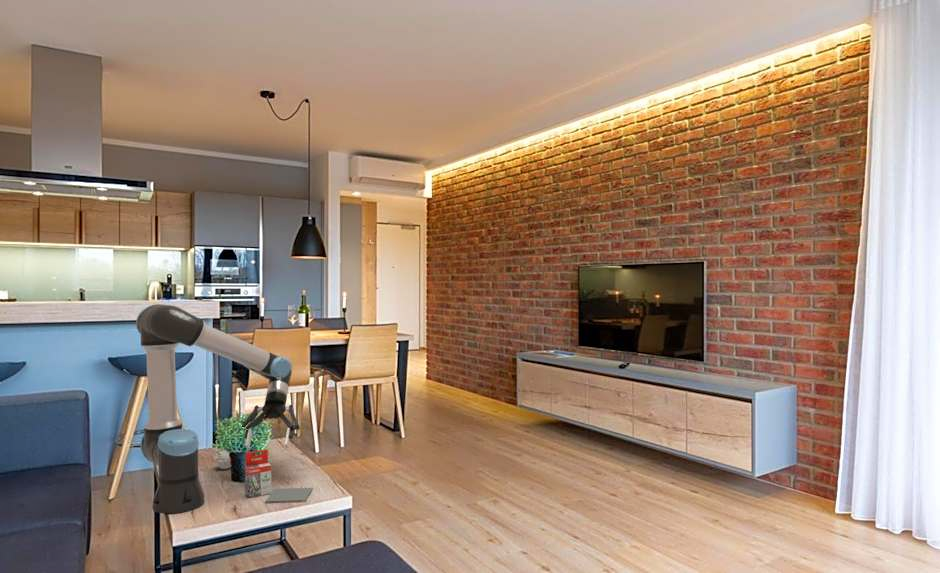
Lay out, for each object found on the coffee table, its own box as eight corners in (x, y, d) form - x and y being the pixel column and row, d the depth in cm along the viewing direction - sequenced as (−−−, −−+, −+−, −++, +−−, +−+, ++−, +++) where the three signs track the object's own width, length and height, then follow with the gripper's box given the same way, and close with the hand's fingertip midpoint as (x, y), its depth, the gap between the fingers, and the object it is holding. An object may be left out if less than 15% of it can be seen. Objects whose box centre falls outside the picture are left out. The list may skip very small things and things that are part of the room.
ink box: (271, 493, 206) (271, 451, 206) (247, 498, 201) (247, 454, 201) (268, 490, 209) (268, 448, 209) (244, 495, 204) (244, 452, 204)
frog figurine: (220, 466, 237) (219, 448, 237) (237, 466, 236) (236, 449, 236) (211, 471, 231) (211, 453, 231) (229, 471, 230) (229, 453, 230)
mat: (265, 503, 197) (265, 501, 197) (274, 490, 209) (274, 488, 209) (305, 501, 198) (305, 500, 198) (312, 489, 210) (312, 487, 210)
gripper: (311, 400, 232) (304, 450, 217) (244, 402, 230) (233, 452, 215) (308, 389, 226) (301, 440, 211) (240, 390, 224) (228, 442, 209)
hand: (266, 446), depth 213 cm, fingers open, 13 cm apart
